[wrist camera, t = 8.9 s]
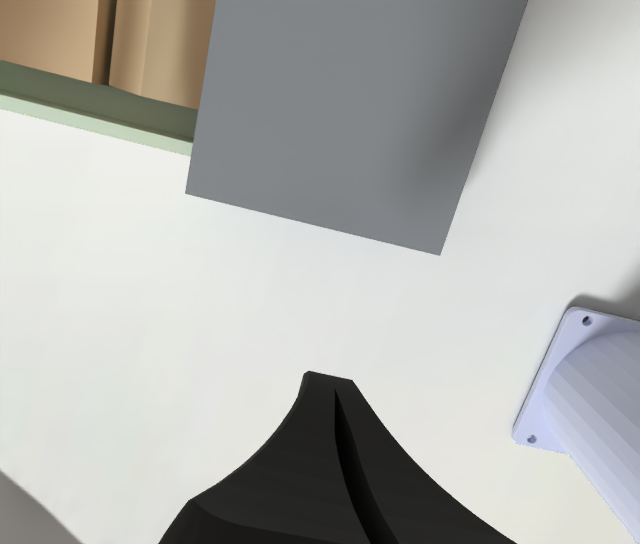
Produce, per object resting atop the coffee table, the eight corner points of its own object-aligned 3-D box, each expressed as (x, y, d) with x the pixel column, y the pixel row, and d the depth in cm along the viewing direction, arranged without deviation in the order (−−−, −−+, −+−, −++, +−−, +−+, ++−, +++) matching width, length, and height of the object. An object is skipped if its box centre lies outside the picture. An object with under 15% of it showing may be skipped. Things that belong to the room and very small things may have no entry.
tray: (238, -42, 18) (226, -68, 15) (205, 152, 20) (190, 156, 17) (-16, -116, 17) (-71, -156, 14) (-20, 95, 19) (-68, 91, 17)
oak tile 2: (-19, -73, 15) (18, -51, 17) (-21, 54, 16) (14, 61, 18) (101, -40, 16) (124, -22, 17) (91, 82, 17) (114, 87, 19)
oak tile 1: (218, -17, 15) (157, -45, 13) (198, 109, 16) (140, 95, 15) (174, -10, 18) (120, -32, 16) (160, 97, 19) (108, 85, 18)
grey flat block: (497, -3, 18) (538, -32, 15) (420, 235, 21) (440, 255, 18) (250, -77, 17) (235, -125, 14) (206, 182, 20) (185, 193, 17)
